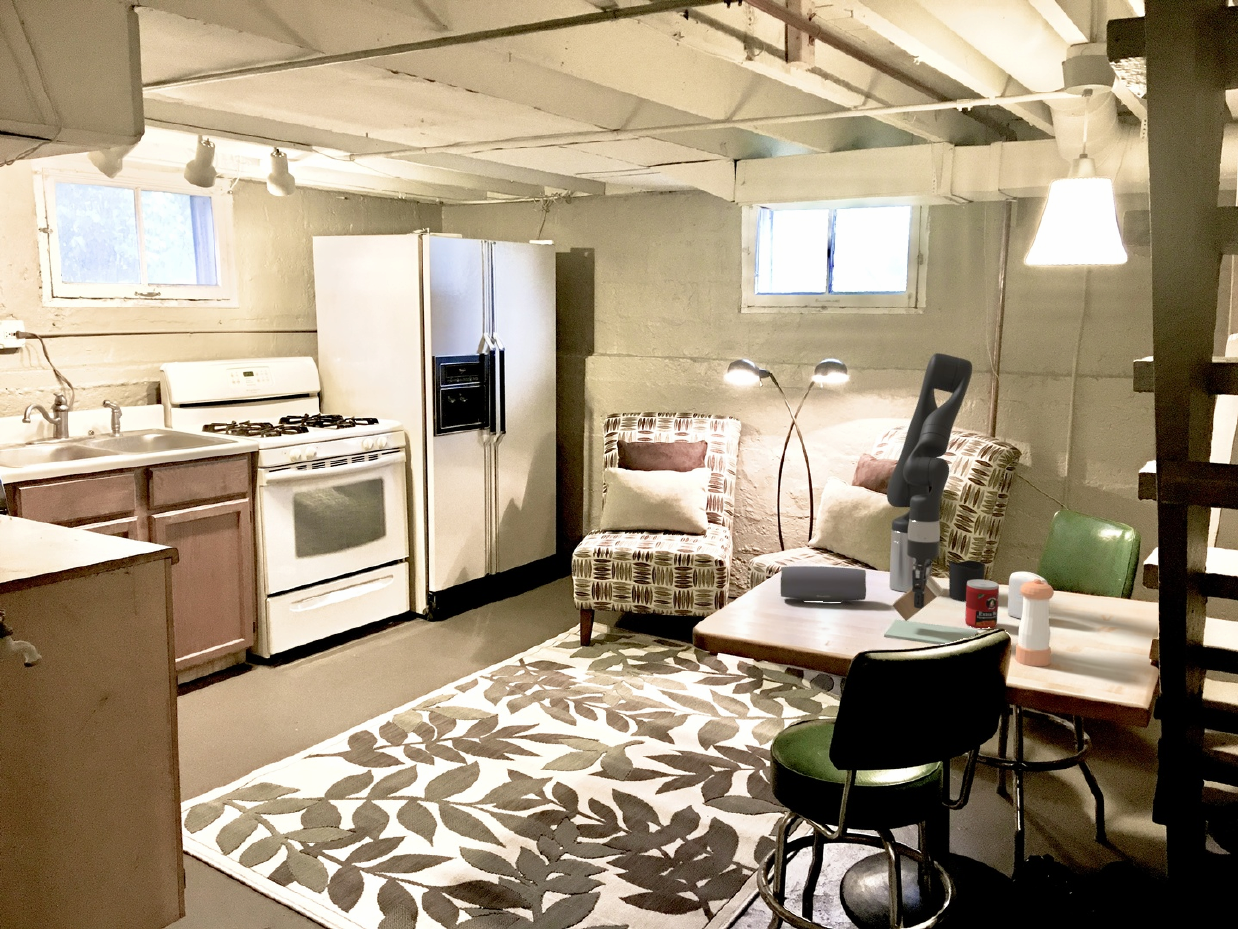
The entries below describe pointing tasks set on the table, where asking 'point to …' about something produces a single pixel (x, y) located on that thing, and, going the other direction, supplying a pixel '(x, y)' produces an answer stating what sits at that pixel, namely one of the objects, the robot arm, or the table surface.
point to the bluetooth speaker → (823, 583)
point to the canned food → (981, 603)
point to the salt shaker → (1034, 624)
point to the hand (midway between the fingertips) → (920, 604)
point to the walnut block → (907, 600)
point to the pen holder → (963, 577)
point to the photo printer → (1014, 591)
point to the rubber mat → (927, 632)
